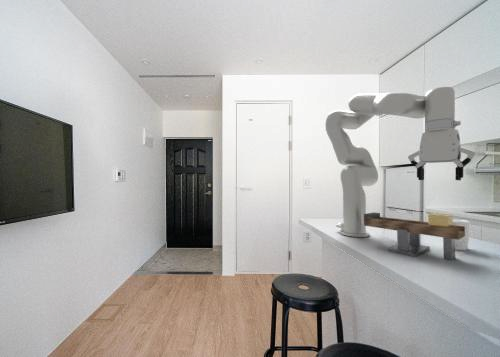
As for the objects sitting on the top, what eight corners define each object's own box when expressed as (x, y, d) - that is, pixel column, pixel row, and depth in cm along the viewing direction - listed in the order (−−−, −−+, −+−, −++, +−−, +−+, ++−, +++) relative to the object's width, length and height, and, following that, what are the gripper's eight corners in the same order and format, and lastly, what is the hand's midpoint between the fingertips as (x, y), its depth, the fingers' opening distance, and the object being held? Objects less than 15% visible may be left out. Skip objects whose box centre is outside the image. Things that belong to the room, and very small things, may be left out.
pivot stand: (388, 251, 81) (388, 227, 81) (404, 244, 90) (404, 223, 90) (415, 256, 75) (414, 231, 75) (429, 249, 83) (429, 226, 84)
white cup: (446, 243, 91) (445, 218, 91) (473, 248, 84) (472, 220, 85) (438, 246, 87) (437, 219, 87) (466, 252, 80) (465, 222, 80)
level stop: (443, 258, 73) (443, 236, 73) (447, 256, 76) (446, 234, 76) (451, 260, 72) (451, 237, 72) (455, 257, 74) (454, 235, 74)
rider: (433, 227, 79) (433, 213, 79) (452, 230, 75) (452, 214, 75) (428, 229, 76) (428, 214, 76) (448, 232, 72) (448, 216, 72)
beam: (363, 227, 91) (363, 213, 91) (373, 225, 96) (373, 212, 96) (458, 242, 69) (458, 224, 69) (464, 238, 74) (464, 221, 74)
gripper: (478, 124, 71) (477, 180, 71) (412, 132, 85) (412, 179, 85) (473, 120, 67) (472, 180, 67) (404, 130, 81) (404, 179, 81)
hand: (438, 180), depth 76 cm, fingers open, 9 cm apart
